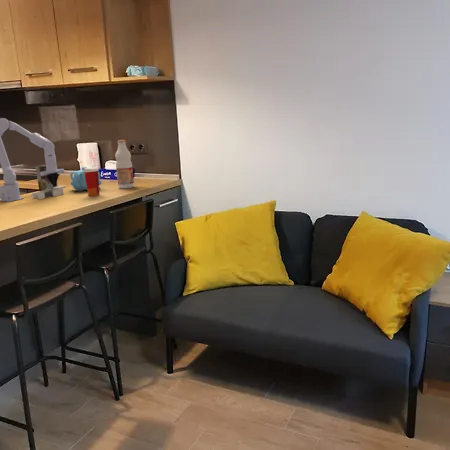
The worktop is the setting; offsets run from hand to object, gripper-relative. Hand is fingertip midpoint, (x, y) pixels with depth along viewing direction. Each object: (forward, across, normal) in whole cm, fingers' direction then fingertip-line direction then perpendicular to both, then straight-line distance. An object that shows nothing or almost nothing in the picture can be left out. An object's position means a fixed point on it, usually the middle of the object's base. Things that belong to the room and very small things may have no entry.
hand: (54, 186), depth 264 cm
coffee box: (+5, +4, +12) cm, 14 cm away
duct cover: (+1, +1, 0) cm, 2 cm away
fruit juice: (+5, +33, -23) cm, 41 cm away
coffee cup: (+5, +7, -24) cm, 26 cm away
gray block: (+5, -6, 0) cm, 8 cm away
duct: (+5, -5, 0) cm, 7 cm away
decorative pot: (+5, +19, -4) cm, 20 cm away
